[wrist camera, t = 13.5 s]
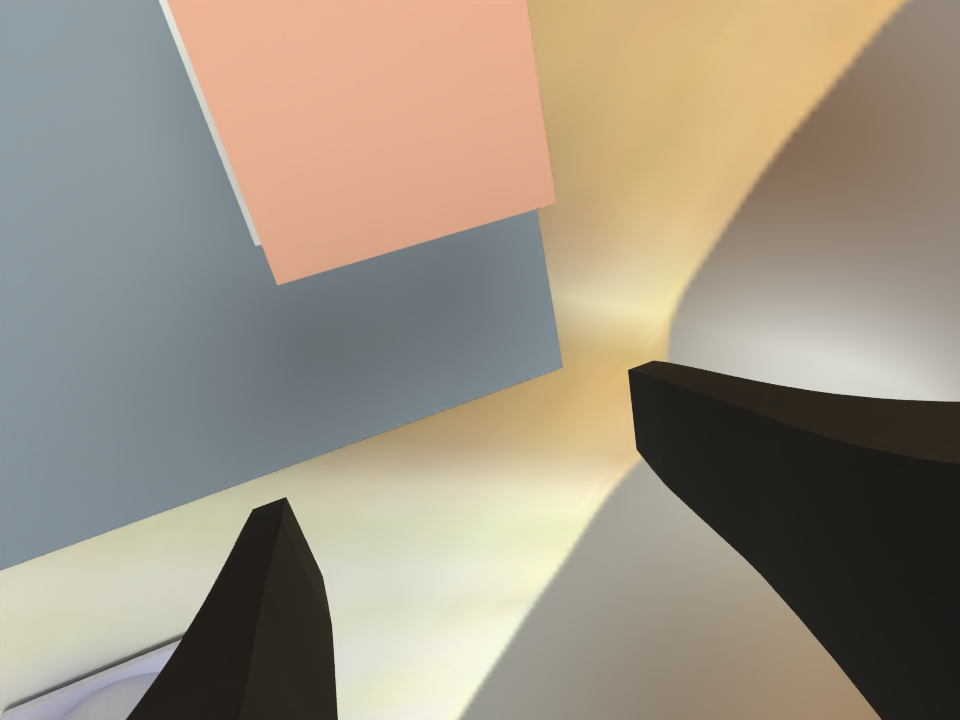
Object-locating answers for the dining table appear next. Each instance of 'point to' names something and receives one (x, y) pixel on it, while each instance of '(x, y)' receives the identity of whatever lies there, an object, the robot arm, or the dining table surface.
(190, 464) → the build board
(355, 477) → the dining table surface
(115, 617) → the dining table surface
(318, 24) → the terracotta block
